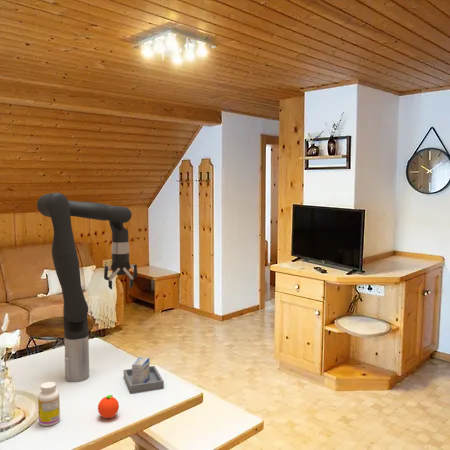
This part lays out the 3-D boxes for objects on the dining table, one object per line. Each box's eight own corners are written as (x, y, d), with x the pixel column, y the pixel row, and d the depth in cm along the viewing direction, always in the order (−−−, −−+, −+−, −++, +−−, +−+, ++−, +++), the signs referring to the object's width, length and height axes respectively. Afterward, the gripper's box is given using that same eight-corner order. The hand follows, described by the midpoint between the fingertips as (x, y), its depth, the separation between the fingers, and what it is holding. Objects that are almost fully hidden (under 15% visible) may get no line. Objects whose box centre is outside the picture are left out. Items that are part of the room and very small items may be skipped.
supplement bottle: (42, 417, 159) (41, 380, 158) (62, 416, 160) (61, 380, 159) (36, 427, 153) (34, 389, 151) (57, 426, 153) (56, 388, 152)
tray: (130, 393, 177) (130, 386, 177) (123, 377, 191) (123, 369, 191) (163, 388, 181) (163, 381, 181) (154, 372, 196) (154, 365, 196)
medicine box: (143, 386, 182) (142, 365, 181) (132, 385, 182) (131, 364, 181) (149, 378, 189) (149, 357, 188) (139, 377, 190) (139, 356, 189)
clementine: (102, 409, 165) (102, 390, 164) (122, 410, 164) (122, 391, 163) (95, 421, 157) (94, 401, 156) (115, 422, 156) (115, 401, 156)
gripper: (104, 254, 200) (105, 291, 202) (138, 252, 205) (138, 288, 207) (102, 251, 207) (103, 287, 209) (135, 249, 212) (135, 285, 214)
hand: (121, 288), depth 208 cm, fingers open, 8 cm apart
